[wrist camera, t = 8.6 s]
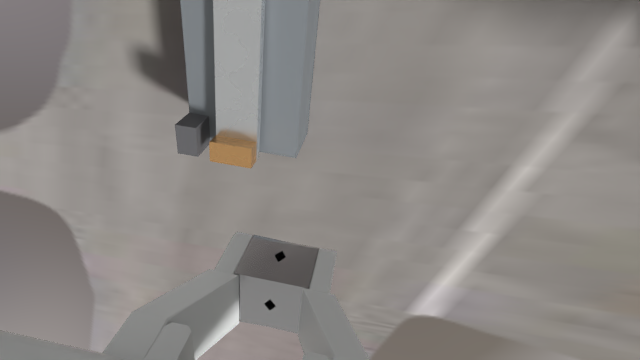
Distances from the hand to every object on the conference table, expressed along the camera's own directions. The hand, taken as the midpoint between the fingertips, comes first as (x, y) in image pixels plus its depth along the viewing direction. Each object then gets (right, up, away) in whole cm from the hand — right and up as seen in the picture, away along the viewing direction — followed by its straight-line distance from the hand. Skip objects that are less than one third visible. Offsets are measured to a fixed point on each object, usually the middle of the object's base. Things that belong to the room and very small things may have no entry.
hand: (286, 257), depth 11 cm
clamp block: (-5, +17, +28) cm, 33 cm away
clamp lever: (-6, +12, +23) cm, 27 cm away
